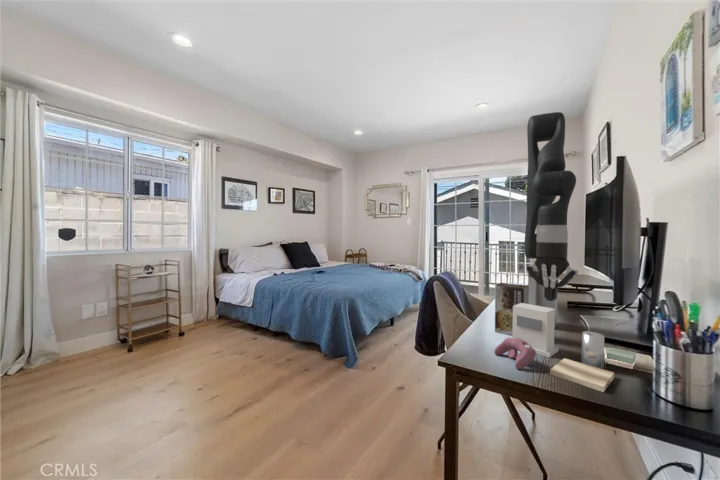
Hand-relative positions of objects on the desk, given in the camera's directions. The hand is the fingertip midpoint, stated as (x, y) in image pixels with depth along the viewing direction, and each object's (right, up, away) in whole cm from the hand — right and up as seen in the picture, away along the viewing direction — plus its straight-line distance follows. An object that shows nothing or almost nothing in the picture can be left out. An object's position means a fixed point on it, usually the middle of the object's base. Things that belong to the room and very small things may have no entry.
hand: (550, 300), depth 86 cm
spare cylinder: (+4, -14, -11) cm, 18 cm away
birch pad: (-3, -15, -16) cm, 22 cm away
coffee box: (-4, -14, +14) cm, 20 cm away
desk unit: (-5, -14, 0) cm, 15 cm away
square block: (+12, -15, -9) cm, 21 cm away
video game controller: (-15, -15, -8) cm, 22 cm away
